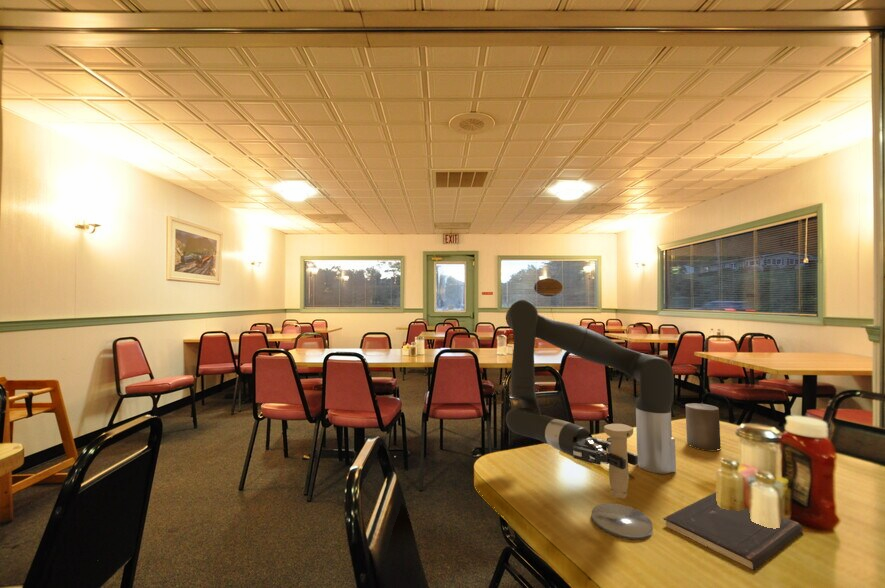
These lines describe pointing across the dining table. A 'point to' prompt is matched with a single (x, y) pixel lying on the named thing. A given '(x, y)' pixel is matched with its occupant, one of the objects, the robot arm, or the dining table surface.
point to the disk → (622, 521)
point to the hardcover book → (732, 531)
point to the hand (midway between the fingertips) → (630, 462)
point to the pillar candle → (703, 426)
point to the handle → (619, 448)
